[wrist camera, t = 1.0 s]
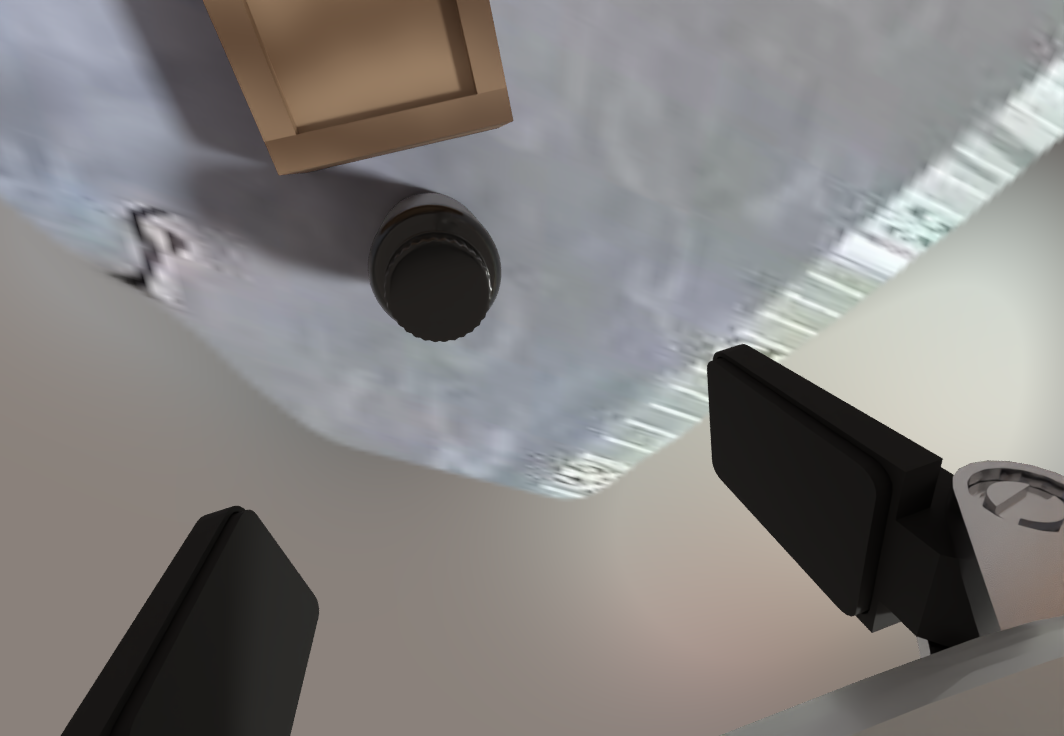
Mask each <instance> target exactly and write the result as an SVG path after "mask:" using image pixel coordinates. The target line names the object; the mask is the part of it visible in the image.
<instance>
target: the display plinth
mask: <svg viewBox="0 0 1064 736" xmlns="http://www.w3.org/2000/svg"><path fill="white" fill-rule="evenodd" d="M203 2H204V5H205V7H206V9H207V11H208V14H209V16H210V18H211V21H212V23H213V25H214V28H215V30H216V32H217V34H218V37H219V39H220V41H221V44H222V46H223V48H224V50H225V53H226V55H227V57H228V60H229V62H230V64H231V67H232V69H233V71H234V73H235V76H236V78H237V80H238V83H239V85H240V87H241V90H242V92H243V94H244V96H245V99H246V101H247V103H248V106H249V108H250V110H251V113H252V115H253V117H254V119H255V122H256V124H257V126H258V129H259V131H260V133H261V135H262V138H263V140H264V142H265V145H266V147H267V149H268V152H269V154H270V156H271V158H272V161H273V163H274V165H275V168H276V170H277V172H278V175H287V174H297V173H307V172H312V171H316V170H320V169H325V168H329V167H333V166H337V165H342V164H346V163H350V162H355V161H359V160H363V159H367V158H372V157H376V156H380V155H385V154H389V153H393V152H397V151H402V150H406V149H410V148H415V147H419V146H423V145H428V144H432V143H436V142H440V141H445V140H449V139H453V138H458V137H462V136H466V135H470V134H475V133H479V132H483V131H488V130H492V129H496V128H499V127H501V126H503V125H506V124H508V123H510V122H512V121H513V117H512V112H511V107H510V102H509V97H508V92H507V87H506V82H505V77H504V72H503V67H502V62H501V57H500V52H499V47H498V42H497V37H496V32H495V27H494V22H493V17H492V12H491V7H490V2H489V0H203Z"/></svg>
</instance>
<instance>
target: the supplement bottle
mask: <svg viewBox="0 0 1064 736" xmlns="http://www.w3.org/2000/svg"><path fill="white" fill-rule="evenodd" d="M368 275H369V281H370V285H371V288H372V291H373V293H374V295H375V297H376V299H377V301H378V303H379V304H380V305H381V307H382V308H383V309H384V311H385V312H386V313H387V314H388V315H389V316H390V317H391V318H392V319H394V320H395V321H396V322H397V323H398V325H400V326H402V327H404V329H405V330H406V332H409V333H412V334H413V335H414V336H415V337H419V338H422V339H423V340H431V341H433V342H438V341H442V342H446V341H448V340H456V339H457V338H459V337H464V336H465V335H466V334H467V333H470V332H472V331H473V330H474V328H475V327H477V326H479V325H480V322H481V320H483V319H484V318H485V316H486V313H487V312H488V310H489V309H490V307H491V306H492V304H493V303H494V301H495V299H496V296H497V294H498V291H499V287H500V282H501V263H500V257H499V254H498V251H497V248H496V246H495V244H494V242H493V240H492V238H491V236H490V235H489V233H488V232H487V230H486V229H485V228H484V227H483V226H482V224H481V223H480V222H479V221H478V220H477V219H476V217H475V216H474V215H473V214H472V213H471V212H470V211H469V210H468V209H467V208H466V207H465V206H464V205H463V204H461V203H460V202H458V201H457V200H455V199H453V198H451V197H449V196H446V195H442V194H438V193H420V194H416V195H412V196H410V197H408V198H406V199H404V200H402V201H401V202H399V203H398V204H397V205H396V206H395V207H394V208H393V209H392V210H391V211H390V212H389V214H388V215H387V216H386V218H385V220H384V222H383V223H382V225H381V227H380V229H379V231H378V233H377V235H376V236H375V238H374V241H373V243H372V246H371V249H370V254H369V260H368Z"/></svg>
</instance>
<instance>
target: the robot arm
mask: <svg viewBox="0 0 1064 736" xmlns="http://www.w3.org/2000/svg"><path fill="white" fill-rule="evenodd" d="M707 377H708V395H709V413H710V432H711V450H712V463H713V467H714V469H715V472H716V474H717V475H718V477H719V478H720V479H721V480H722V481H723V482H724V484H725V485H726V486H727V487H728V488H729V489H730V490H731V491H732V492H733V493H734V494H735V496H736V497H737V498H738V499H739V500H740V501H741V502H742V503H743V504H744V505H745V507H746V508H747V509H748V510H749V511H750V512H751V513H752V514H753V515H754V516H755V517H756V518H757V519H758V521H759V522H760V523H761V524H762V525H763V526H764V527H765V528H766V529H767V531H768V532H769V533H770V534H771V535H772V536H773V537H774V538H775V539H776V540H777V541H778V543H779V544H780V545H781V546H782V547H783V548H784V549H785V550H786V551H787V552H788V553H789V555H790V556H791V557H792V558H793V559H794V560H795V561H796V562H797V563H798V564H799V566H800V567H801V568H802V569H803V570H804V571H805V572H806V573H807V574H808V575H809V576H810V578H811V579H813V581H814V582H815V583H816V584H817V585H818V586H819V587H820V588H821V590H822V591H823V592H824V593H825V594H826V595H827V596H828V597H829V598H830V599H831V600H832V602H833V603H834V604H835V605H836V606H837V607H838V608H839V609H840V610H841V611H842V612H844V613H845V614H846V615H849V616H854V615H856V617H857V618H858V619H859V620H860V621H861V622H862V623H863V624H864V625H865V626H866V627H867V628H868V629H869V630H870V631H871V632H872V633H873V632H875V631H878V630H881V629H883V628H886V627H888V626H891V625H893V624H896V623H898V622H902V623H903V624H904V625H905V626H906V627H907V628H909V630H910V631H912V633H913V634H915V635H916V637H917V643H918V648H919V653H920V659H918V660H915V661H912V662H909V663H907V664H904V665H902V666H899V667H896V668H893V669H891V670H888V671H885V672H882V673H880V674H877V675H874V676H871V677H869V678H866V679H863V680H860V681H858V682H855V683H853V684H850V685H848V686H845V687H843V688H840V689H837V690H835V691H832V692H830V693H827V694H825V695H822V696H820V697H817V698H815V699H812V700H809V701H807V702H804V703H802V704H799V705H797V706H794V707H792V708H789V709H787V710H784V711H781V712H779V713H776V714H774V715H771V716H769V717H766V718H764V719H761V720H758V721H756V722H753V723H751V724H748V725H746V726H743V727H741V728H738V729H735V730H733V731H730V732H728V733H725V734H723V735H720V736H1064V476H1062V475H1060V474H1058V473H1056V472H1052V471H1049V470H1046V469H1042V468H1039V467H1036V466H1033V465H1028V464H1022V463H1016V462H1010V461H982V462H975V463H970V464H968V465H966V466H964V467H962V468H959V469H958V471H957V472H956V473H955V475H953V474H952V473H949V472H948V471H946V470H945V469H943V468H941V464H942V460H943V459H942V458H941V457H939V456H937V455H936V454H934V453H932V452H930V451H929V450H927V449H925V448H924V447H922V446H920V445H918V444H917V443H915V442H913V441H911V440H910V439H908V438H906V437H905V436H903V435H901V434H899V433H898V432H896V431H894V430H893V429H891V428H889V427H887V426H886V425H884V424H882V423H880V422H879V421H877V420H875V419H874V418H872V417H870V416H868V415H867V414H865V413H863V412H862V411H860V410H858V409H856V408H855V407H853V406H851V405H850V404H848V403H846V402H844V401H842V400H841V399H839V398H837V397H836V396H834V395H832V394H831V393H829V392H827V391H825V390H824V389H822V388H820V387H818V386H817V385H815V384H813V383H812V382H810V381H808V380H807V379H805V378H803V377H801V376H800V375H798V374H796V373H794V372H793V371H791V370H789V369H788V368H786V367H784V366H782V365H781V364H779V363H777V362H776V361H774V360H772V359H770V358H769V357H767V356H765V355H763V354H762V353H760V352H758V351H757V350H755V349H753V348H751V347H750V346H748V345H745V344H741V345H737V346H734V347H731V348H728V349H725V350H722V351H718V352H716V353H715V354H714V357H713V361H710V362H709V363H708V365H707ZM318 616H319V606H318V602H317V599H316V597H315V595H314V594H313V592H312V591H311V590H310V588H309V587H308V585H307V584H306V583H305V581H304V580H303V579H302V577H301V576H300V574H299V573H298V572H297V570H296V569H295V567H294V566H293V565H292V564H291V562H290V560H289V559H288V558H287V556H286V555H285V553H284V552H283V551H282V549H281V548H280V546H279V545H278V544H277V542H276V541H275V540H274V538H273V537H272V535H271V534H270V533H269V531H268V530H267V528H266V527H265V526H264V524H263V523H262V522H261V520H260V519H259V517H258V516H257V514H256V513H255V512H254V511H252V510H245V509H244V508H242V507H240V506H232V507H229V508H226V509H223V510H220V511H217V512H214V513H211V514H207V515H205V516H203V517H201V518H200V519H199V520H198V521H197V523H196V524H195V526H194V527H193V529H192V531H191V532H190V534H189V535H188V537H187V538H186V540H185V541H184V543H183V545H182V546H181V548H180V549H179V551H178V552H177V554H176V556H175V557H174V559H173V560H172V562H171V563H170V565H169V566H168V568H167V570H166V571H165V573H164V575H163V576H162V578H161V579H160V581H159V582H158V584H157V585H156V587H155V588H154V590H153V592H152V593H151V595H150V596H149V598H148V599H147V601H146V603H145V604H144V606H143V607H142V609H141V610H140V612H139V614H138V615H137V617H136V618H135V620H134V621H133V623H132V625H131V626H130V628H129V629H128V631H127V633H126V634H125V635H124V637H123V639H122V640H121V642H120V644H119V645H118V646H117V648H116V650H115V651H114V653H113V654H112V656H111V657H110V659H109V661H108V662H107V664H106V665H105V667H104V669H103V670H102V672H101V673H100V675H99V676H98V678H97V680H96V681H95V683H94V684H93V686H92V687H91V689H90V691H89V692H88V694H87V695H86V697H85V698H84V700H83V702H82V703H81V704H80V706H79V708H78V709H77V711H76V712H75V714H74V715H73V717H72V719H71V720H70V722H69V723H68V725H67V726H66V728H65V730H64V731H63V733H62V734H61V736H290V734H291V730H292V726H293V721H294V717H295V713H296V709H297V705H298V700H299V696H300V692H301V687H302V684H303V680H304V675H305V671H306V667H307V662H308V658H309V654H310V650H311V646H312V642H313V637H314V633H315V629H316V625H317V621H318Z"/></svg>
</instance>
